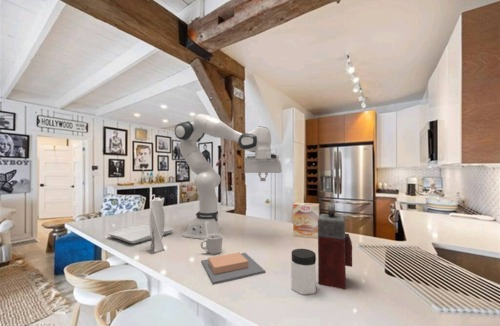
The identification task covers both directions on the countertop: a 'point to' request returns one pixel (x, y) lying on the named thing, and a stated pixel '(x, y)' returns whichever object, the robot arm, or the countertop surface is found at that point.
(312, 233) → the coffeecake box
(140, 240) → the square plate
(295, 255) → the jar
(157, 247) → the skyscraper
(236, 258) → the peach rectangular block
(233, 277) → the mat
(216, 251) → the cup
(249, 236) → the countertop surface
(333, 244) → the dark red grey-topped box
